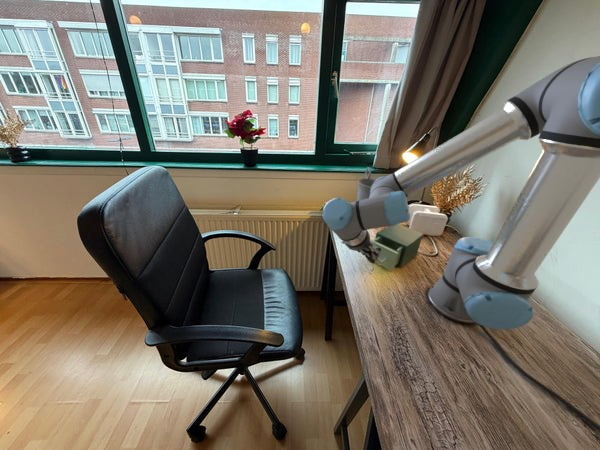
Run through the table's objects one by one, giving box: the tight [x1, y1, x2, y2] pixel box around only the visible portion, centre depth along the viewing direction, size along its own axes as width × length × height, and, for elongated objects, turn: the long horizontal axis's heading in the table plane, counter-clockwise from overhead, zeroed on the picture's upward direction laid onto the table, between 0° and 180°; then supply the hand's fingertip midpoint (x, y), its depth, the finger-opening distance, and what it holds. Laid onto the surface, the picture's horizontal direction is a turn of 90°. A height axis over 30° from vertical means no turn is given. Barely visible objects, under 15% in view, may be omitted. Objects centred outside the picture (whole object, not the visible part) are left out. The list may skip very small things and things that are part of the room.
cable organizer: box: [405, 203, 449, 237], centre depth 118 cm, size 15×11×12 cm
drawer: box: [370, 236, 405, 272], centre depth 94 cm, size 18×11×8 cm, turn 133°
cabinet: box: [374, 223, 425, 268], centre depth 100 cm, size 15×13×10 cm
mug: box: [356, 167, 377, 201], centre depth 126 cm, size 19×15×25 cm
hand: (373, 259), depth 88 cm, fingers closed
